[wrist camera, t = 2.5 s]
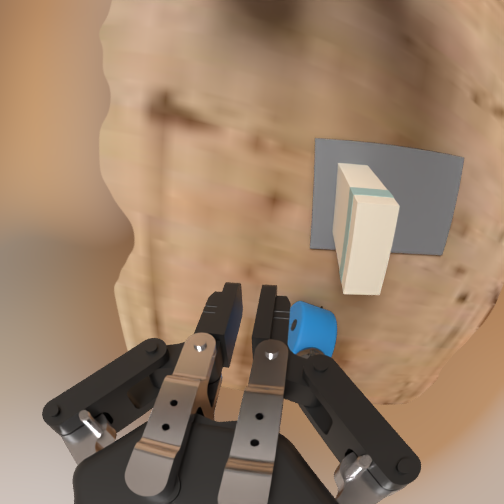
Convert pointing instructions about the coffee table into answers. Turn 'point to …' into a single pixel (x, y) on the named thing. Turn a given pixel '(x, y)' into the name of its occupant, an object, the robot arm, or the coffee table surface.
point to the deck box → (363, 228)
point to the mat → (391, 191)
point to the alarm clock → (311, 330)
